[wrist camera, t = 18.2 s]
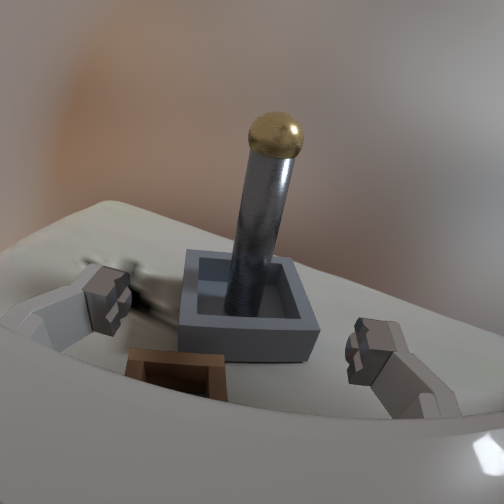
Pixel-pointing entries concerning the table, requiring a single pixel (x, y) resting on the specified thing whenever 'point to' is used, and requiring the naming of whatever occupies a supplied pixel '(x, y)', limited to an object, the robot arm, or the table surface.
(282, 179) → the pin
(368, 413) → the table surface
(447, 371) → the table surface
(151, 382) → the collar
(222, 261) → the tray
